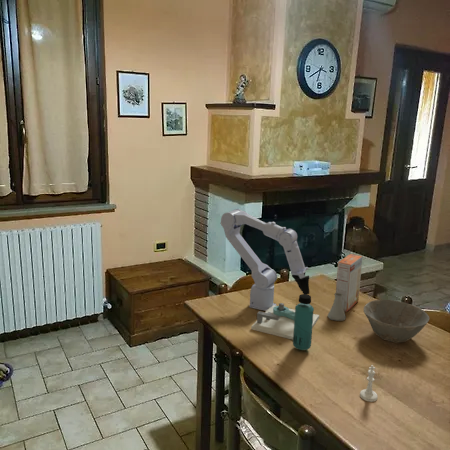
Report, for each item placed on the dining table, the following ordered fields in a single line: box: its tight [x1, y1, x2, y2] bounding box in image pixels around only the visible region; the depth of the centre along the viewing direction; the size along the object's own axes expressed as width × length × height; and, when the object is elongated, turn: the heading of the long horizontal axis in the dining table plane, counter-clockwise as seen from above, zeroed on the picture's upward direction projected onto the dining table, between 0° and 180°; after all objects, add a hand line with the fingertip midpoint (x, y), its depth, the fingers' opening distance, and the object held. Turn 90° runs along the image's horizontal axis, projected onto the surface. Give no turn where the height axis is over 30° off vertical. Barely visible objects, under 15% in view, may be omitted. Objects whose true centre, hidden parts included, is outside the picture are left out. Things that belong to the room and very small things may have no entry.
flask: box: [327, 292, 347, 322], centre depth 176 cm, size 7×7×10 cm
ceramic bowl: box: [363, 299, 430, 343], centre depth 162 cm, size 22×23×10 cm
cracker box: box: [335, 253, 363, 313], centre depth 187 cm, size 14×6×21 cm, turn 144°
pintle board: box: [250, 302, 320, 341], centre depth 171 cm, size 20×22×5 cm
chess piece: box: [359, 364, 378, 403], centre depth 127 cm, size 5×5×10 cm
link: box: [273, 305, 313, 324], centre depth 173 cm, size 17×6×2 cm, turn 45°
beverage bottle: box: [292, 293, 315, 351], centre depth 150 cm, size 6×7×20 cm
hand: (305, 292), depth 175 cm, fingers open, 7 cm apart
